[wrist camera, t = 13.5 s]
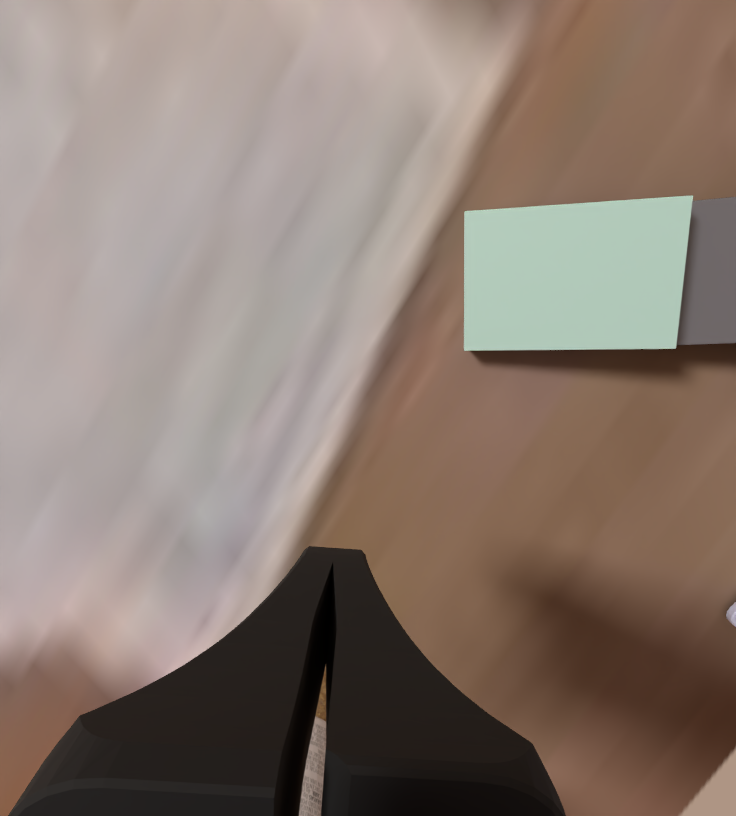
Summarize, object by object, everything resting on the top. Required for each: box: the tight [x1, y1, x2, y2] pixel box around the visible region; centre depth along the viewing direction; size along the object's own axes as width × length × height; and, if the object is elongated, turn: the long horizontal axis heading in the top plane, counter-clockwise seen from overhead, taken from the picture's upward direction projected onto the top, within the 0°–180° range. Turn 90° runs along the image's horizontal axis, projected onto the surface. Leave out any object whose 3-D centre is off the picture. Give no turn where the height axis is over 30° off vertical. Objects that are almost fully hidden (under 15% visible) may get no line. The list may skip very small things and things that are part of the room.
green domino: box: [464, 195, 693, 351], centre depth 18 cm, size 1×5×7 cm
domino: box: [676, 197, 736, 345], centre depth 18 cm, size 1×5×7 cm
